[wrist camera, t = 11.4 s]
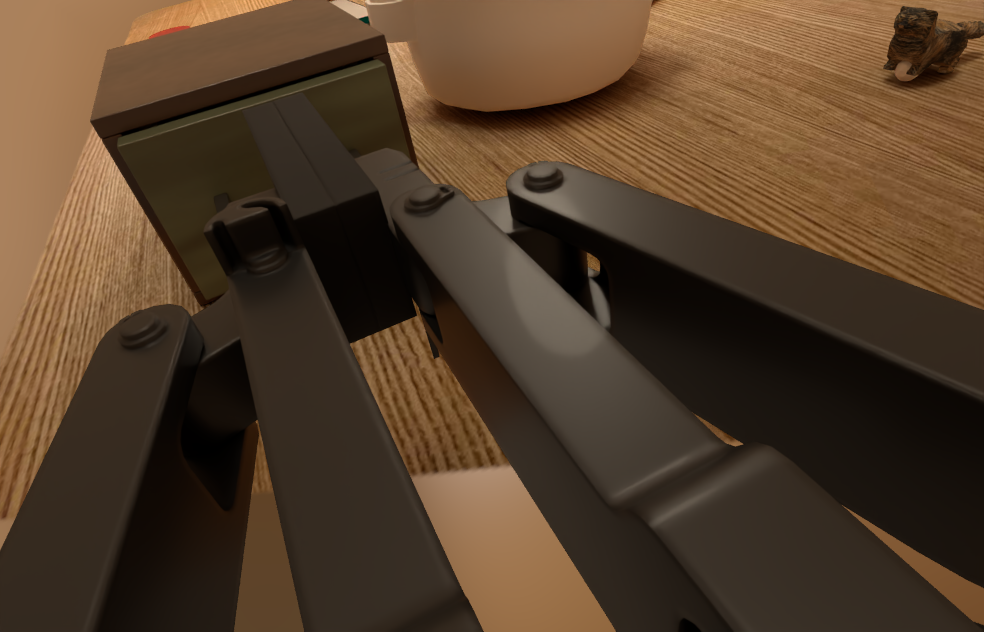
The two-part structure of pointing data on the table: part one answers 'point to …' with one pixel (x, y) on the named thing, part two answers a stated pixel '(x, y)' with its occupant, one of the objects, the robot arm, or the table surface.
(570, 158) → the table surface
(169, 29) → the button
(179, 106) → the cabinet
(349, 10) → the smartphone
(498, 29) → the pot
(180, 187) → the drawer
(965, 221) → the table surface
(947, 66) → the cat figurine
